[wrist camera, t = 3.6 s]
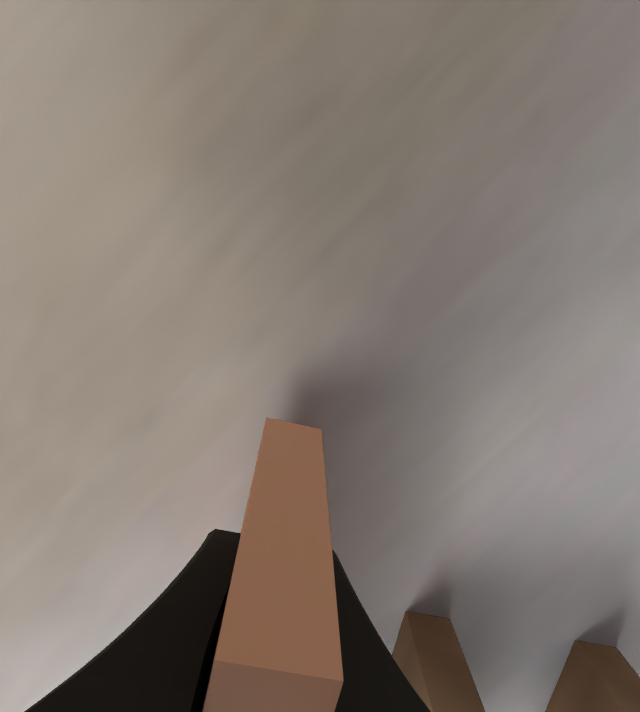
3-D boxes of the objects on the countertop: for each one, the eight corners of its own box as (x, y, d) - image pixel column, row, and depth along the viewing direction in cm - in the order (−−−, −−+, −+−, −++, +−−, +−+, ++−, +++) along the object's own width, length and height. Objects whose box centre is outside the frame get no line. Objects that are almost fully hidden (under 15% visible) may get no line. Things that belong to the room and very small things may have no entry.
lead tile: (321, 428, 12) (344, 680, 5) (279, 595, 13) (252, 983, 6) (266, 417, 12) (214, 660, 5) (228, 586, 13) (144, 971, 6)
